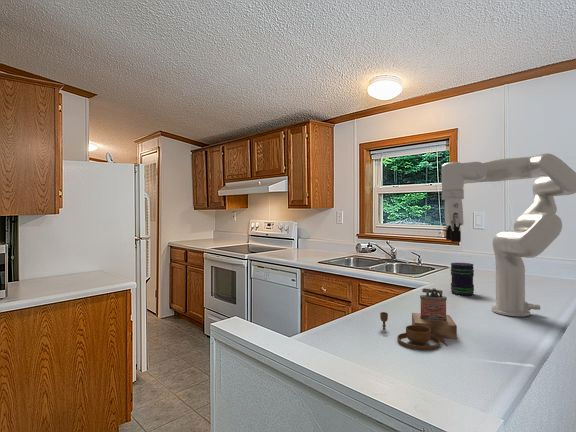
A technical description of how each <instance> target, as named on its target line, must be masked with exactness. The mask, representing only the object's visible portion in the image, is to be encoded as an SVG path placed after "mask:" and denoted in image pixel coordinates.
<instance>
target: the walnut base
mask: <svg viewBox="0 0 576 432" xmlns="http://www.w3.org/2000/svg"><path fill="white" fill-rule="evenodd" d="M420 315H421V312H411V325H421V326H425V327H428V328H430V329H431V336H434V337H436V338H438V337H441V338H443V339H454V340H456V339H458V333H457V332H458V330H457V329H458V328H457V327H458V326H457V324H456V323H455V321H454V320H453V318H452V317H451V315H450V314H446V317H447V321H433V320H424V319H421V318H420Z"/></svg>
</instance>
